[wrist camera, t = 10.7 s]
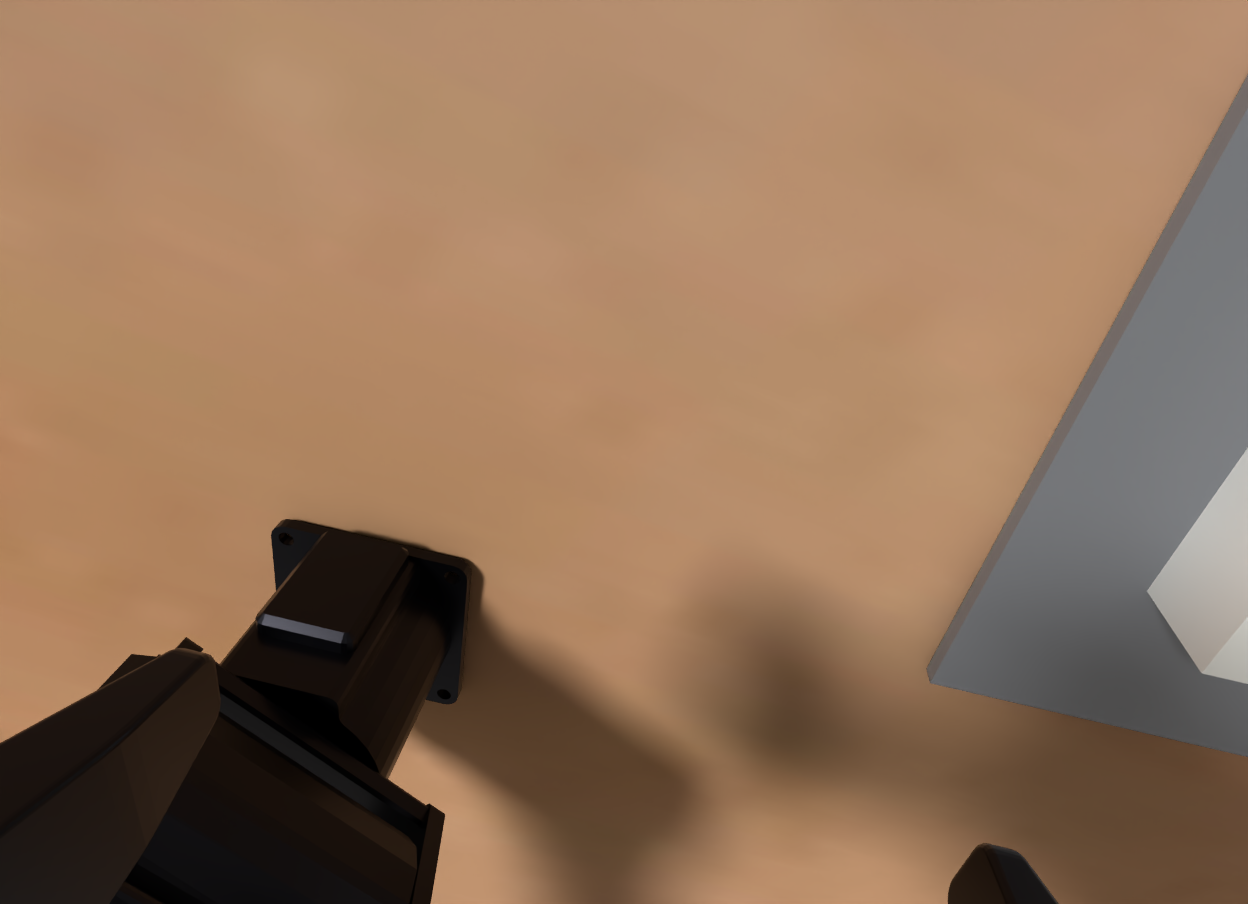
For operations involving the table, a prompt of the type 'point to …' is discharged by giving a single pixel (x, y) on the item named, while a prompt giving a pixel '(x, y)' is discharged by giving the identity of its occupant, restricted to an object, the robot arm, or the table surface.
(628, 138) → the table surface
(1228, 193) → the socket tray
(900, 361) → the table surface
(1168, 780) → the table surface
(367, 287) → the table surface
